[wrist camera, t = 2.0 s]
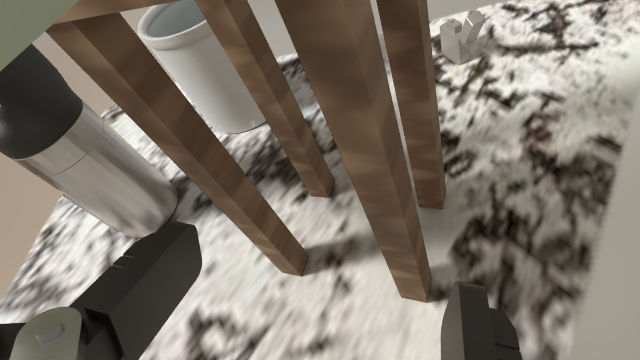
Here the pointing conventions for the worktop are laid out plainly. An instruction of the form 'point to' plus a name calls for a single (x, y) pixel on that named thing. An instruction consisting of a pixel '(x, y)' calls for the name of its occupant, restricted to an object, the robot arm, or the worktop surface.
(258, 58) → the stool
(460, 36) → the lighter
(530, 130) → the worktop surface
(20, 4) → the green block
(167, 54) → the utensil holder
